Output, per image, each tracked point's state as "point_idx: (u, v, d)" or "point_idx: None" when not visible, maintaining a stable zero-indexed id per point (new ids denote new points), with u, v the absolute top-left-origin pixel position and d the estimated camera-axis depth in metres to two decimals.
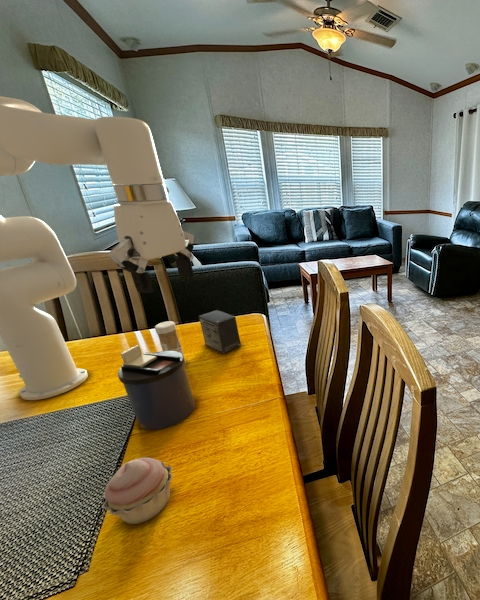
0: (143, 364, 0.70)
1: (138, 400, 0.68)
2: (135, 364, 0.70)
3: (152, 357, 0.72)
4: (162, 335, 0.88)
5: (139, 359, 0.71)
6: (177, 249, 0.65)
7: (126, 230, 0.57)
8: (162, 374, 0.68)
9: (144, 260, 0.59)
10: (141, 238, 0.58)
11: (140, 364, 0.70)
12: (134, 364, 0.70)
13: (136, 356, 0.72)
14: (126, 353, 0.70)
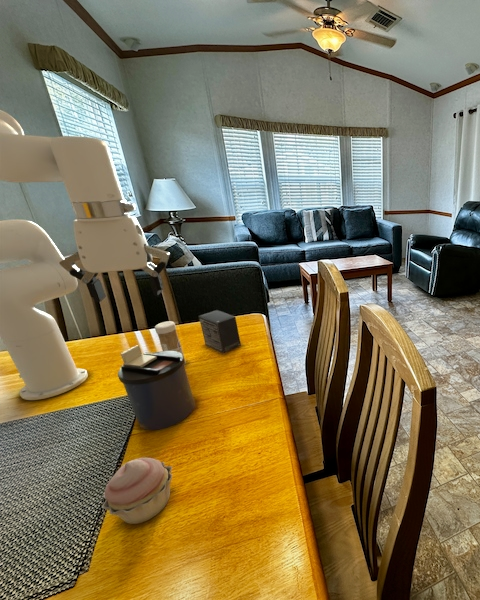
0: (143, 364, 0.70)
1: (138, 400, 0.68)
2: (135, 364, 0.70)
3: (152, 357, 0.72)
4: (162, 335, 0.88)
5: (139, 359, 0.71)
6: (130, 267, 0.64)
7: None
8: (162, 374, 0.68)
9: (90, 272, 0.62)
10: (82, 252, 0.60)
11: (140, 364, 0.70)
12: (134, 364, 0.70)
13: (136, 356, 0.72)
14: (126, 353, 0.70)
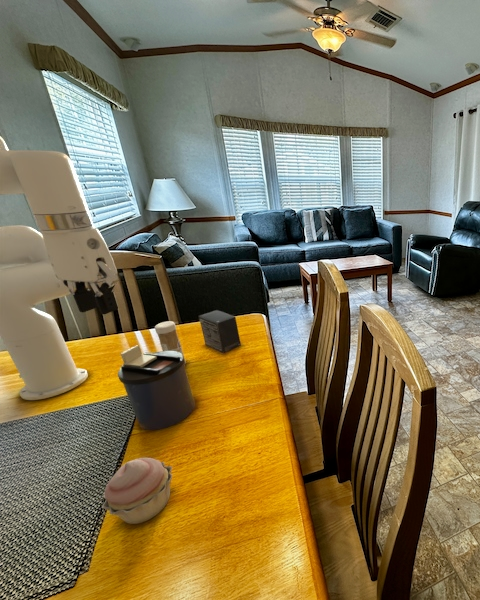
0: (143, 364, 0.70)
1: (138, 400, 0.68)
2: (135, 364, 0.70)
3: (152, 357, 0.72)
4: (162, 335, 0.88)
5: (139, 359, 0.71)
6: (84, 279, 0.63)
7: None
8: (162, 374, 0.68)
9: (69, 283, 0.65)
10: (51, 260, 0.63)
11: (140, 364, 0.70)
12: (134, 364, 0.70)
13: (136, 356, 0.72)
14: (126, 353, 0.70)
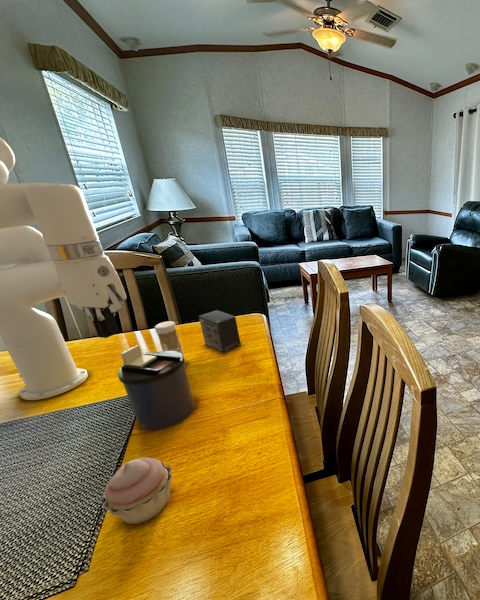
0: (143, 364, 0.70)
1: (138, 400, 0.68)
2: (135, 364, 0.70)
3: (152, 357, 0.72)
4: (162, 335, 0.88)
5: (139, 359, 0.71)
6: (95, 305, 0.65)
7: None
8: (162, 374, 0.68)
9: (86, 309, 0.67)
10: (63, 287, 0.65)
11: (140, 364, 0.70)
12: (134, 364, 0.70)
13: (136, 356, 0.72)
14: (126, 353, 0.70)
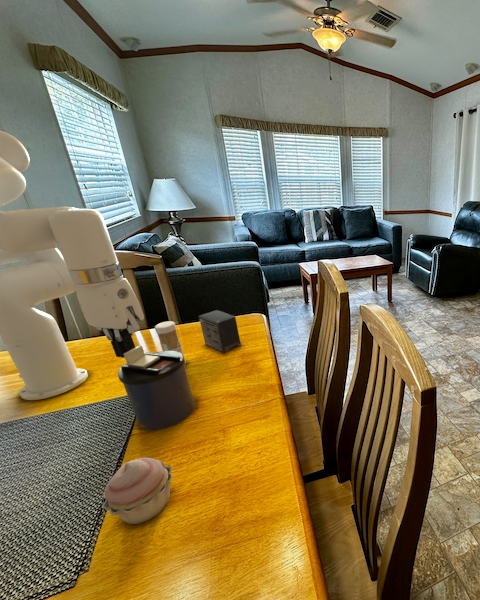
0: (146, 364, 0.70)
1: (138, 400, 0.68)
2: (138, 364, 0.69)
3: (155, 357, 0.72)
4: (162, 335, 0.88)
5: (142, 360, 0.71)
6: (114, 327, 0.66)
7: None
8: (162, 374, 0.68)
9: (104, 330, 0.68)
10: (83, 308, 0.66)
11: (143, 364, 0.69)
12: (137, 364, 0.69)
13: (139, 356, 0.72)
14: (129, 353, 0.69)
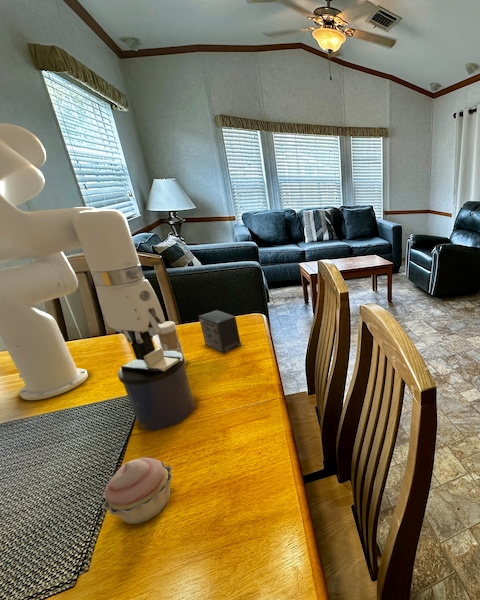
0: (166, 367, 0.69)
1: (138, 400, 0.68)
2: (158, 367, 0.68)
3: (175, 360, 0.71)
4: (162, 335, 0.88)
5: (162, 362, 0.70)
6: (135, 329, 0.65)
7: None
8: (162, 374, 0.68)
9: (125, 332, 0.67)
10: (104, 310, 0.65)
11: (163, 367, 0.68)
12: (157, 367, 0.68)
13: (159, 359, 0.71)
14: (149, 356, 0.68)
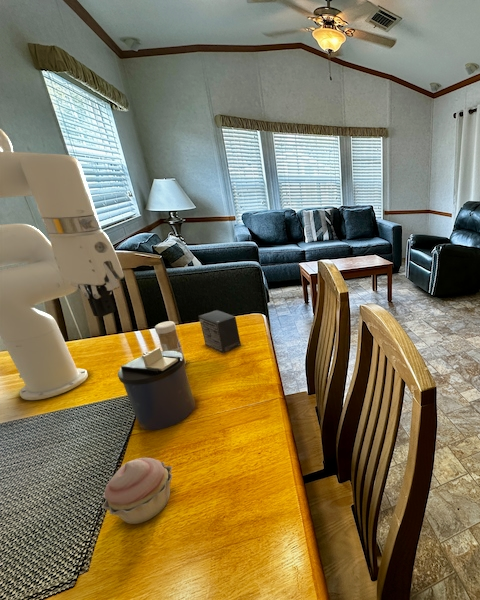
0: (165, 367, 0.69)
1: (138, 400, 0.68)
2: (157, 367, 0.68)
3: (173, 360, 0.71)
4: (162, 335, 0.88)
5: (160, 362, 0.70)
6: (91, 282, 0.63)
7: None
8: (162, 374, 0.68)
9: (81, 286, 0.65)
10: (58, 262, 0.63)
11: (162, 367, 0.68)
12: (156, 367, 0.69)
13: (157, 359, 0.71)
14: (148, 356, 0.69)
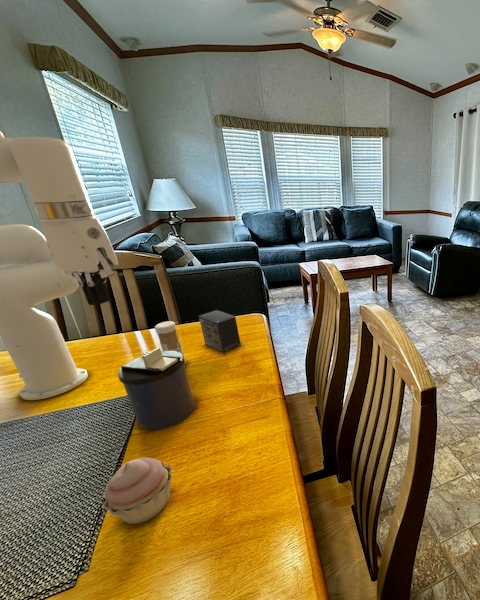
0: (165, 367, 0.69)
1: (138, 400, 0.68)
2: (157, 367, 0.68)
3: (173, 360, 0.71)
4: (162, 335, 0.88)
5: (160, 362, 0.70)
6: (84, 269, 0.62)
7: None
8: (162, 374, 0.68)
9: (75, 274, 0.64)
10: (51, 250, 0.62)
11: (162, 367, 0.68)
12: (156, 367, 0.69)
13: (157, 359, 0.71)
14: (148, 356, 0.69)
